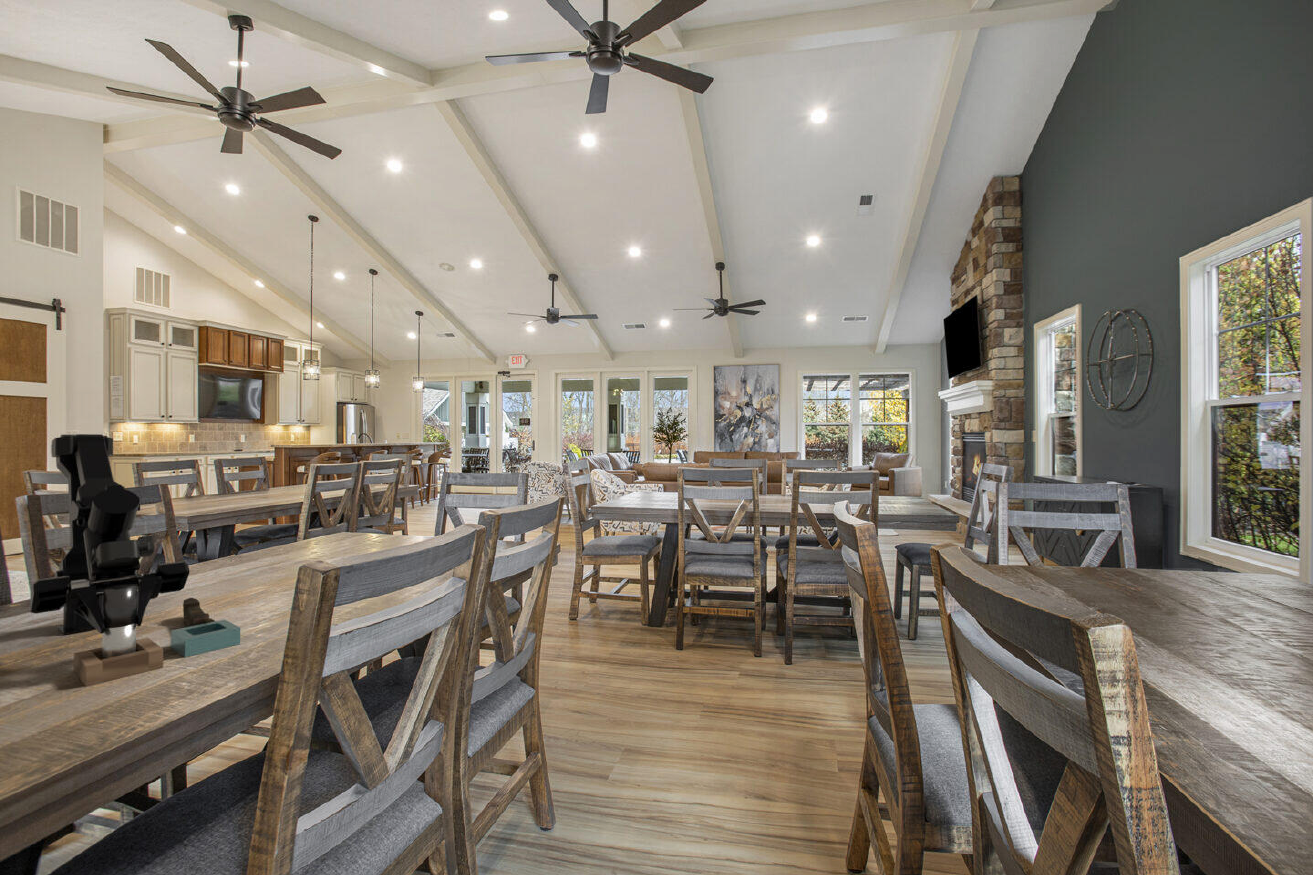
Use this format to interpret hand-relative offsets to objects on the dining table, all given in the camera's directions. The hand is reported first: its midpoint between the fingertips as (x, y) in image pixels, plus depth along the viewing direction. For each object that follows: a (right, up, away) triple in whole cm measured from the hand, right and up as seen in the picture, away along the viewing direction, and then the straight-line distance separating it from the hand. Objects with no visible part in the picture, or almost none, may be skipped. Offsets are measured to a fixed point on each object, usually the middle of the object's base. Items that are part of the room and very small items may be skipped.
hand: (121, 628), depth 90 cm
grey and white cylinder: (-1, -7, +1) cm, 7 cm away
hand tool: (-7, -8, +21) cm, 24 cm away
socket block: (+4, -7, +12) cm, 14 cm away
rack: (-1, -7, +1) cm, 7 cm away
